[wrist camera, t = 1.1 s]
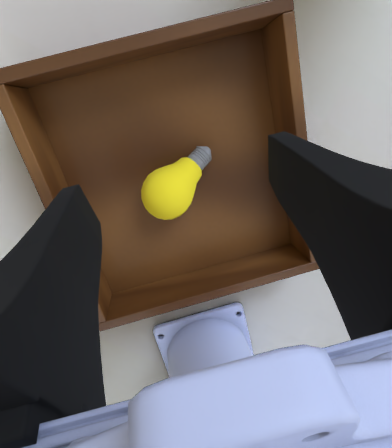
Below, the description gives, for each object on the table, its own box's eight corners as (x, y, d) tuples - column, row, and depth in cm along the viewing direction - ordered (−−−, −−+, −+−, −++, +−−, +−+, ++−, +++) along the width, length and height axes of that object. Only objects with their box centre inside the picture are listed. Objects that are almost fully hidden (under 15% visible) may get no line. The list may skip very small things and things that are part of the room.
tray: (297, 246, 26) (321, 268, 22) (107, 300, 25) (100, 331, 22) (267, 15, 20) (293, -6, 16) (15, 79, 19) (-18, 72, 16)
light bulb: (133, 200, 22) (127, 191, 19) (188, 141, 23) (192, 122, 19) (168, 231, 22) (169, 228, 19) (221, 171, 23) (232, 158, 20)
